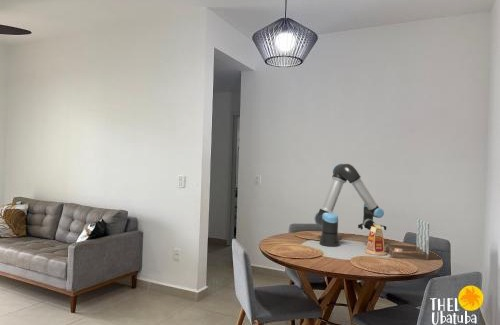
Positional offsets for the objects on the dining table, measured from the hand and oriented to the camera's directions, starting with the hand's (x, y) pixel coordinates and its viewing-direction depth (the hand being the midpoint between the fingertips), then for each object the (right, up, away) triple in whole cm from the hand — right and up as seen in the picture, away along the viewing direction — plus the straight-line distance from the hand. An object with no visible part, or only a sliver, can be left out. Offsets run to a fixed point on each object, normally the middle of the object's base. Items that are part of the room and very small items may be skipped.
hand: (373, 229), depth 253 cm
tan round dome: (-2, -14, -11) cm, 18 cm away
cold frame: (+18, -15, -12) cm, 26 cm away
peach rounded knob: (+10, -15, -19) cm, 26 cm away
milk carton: (-2, -14, -10) cm, 17 cm away
